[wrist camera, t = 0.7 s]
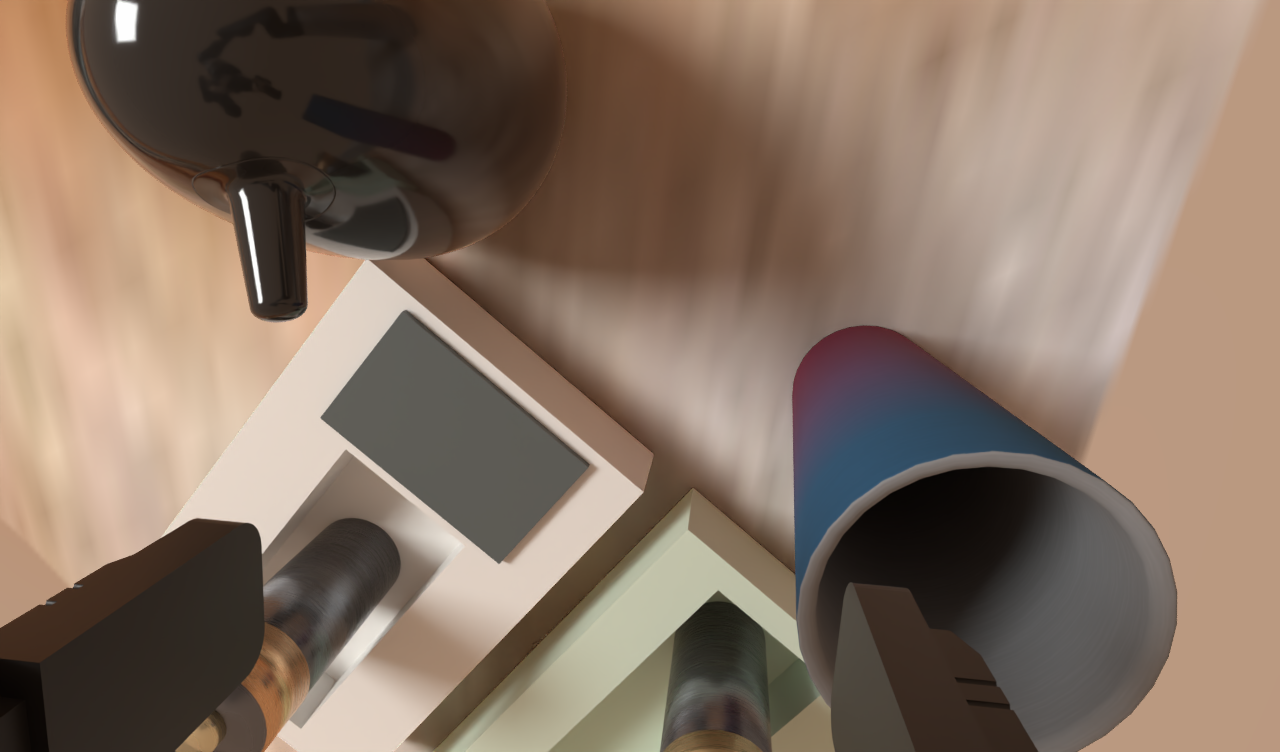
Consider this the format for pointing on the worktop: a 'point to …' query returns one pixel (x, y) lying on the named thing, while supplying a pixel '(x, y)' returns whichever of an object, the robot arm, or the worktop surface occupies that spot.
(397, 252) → the black tapered dome
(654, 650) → the trough rack
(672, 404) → the worktop surface
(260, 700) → the cell
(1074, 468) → the cup
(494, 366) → the battery tester
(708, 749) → the cell
